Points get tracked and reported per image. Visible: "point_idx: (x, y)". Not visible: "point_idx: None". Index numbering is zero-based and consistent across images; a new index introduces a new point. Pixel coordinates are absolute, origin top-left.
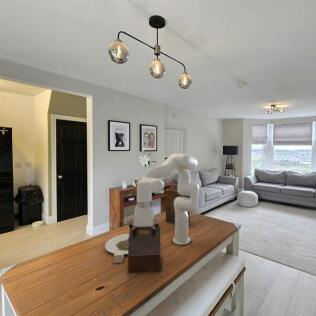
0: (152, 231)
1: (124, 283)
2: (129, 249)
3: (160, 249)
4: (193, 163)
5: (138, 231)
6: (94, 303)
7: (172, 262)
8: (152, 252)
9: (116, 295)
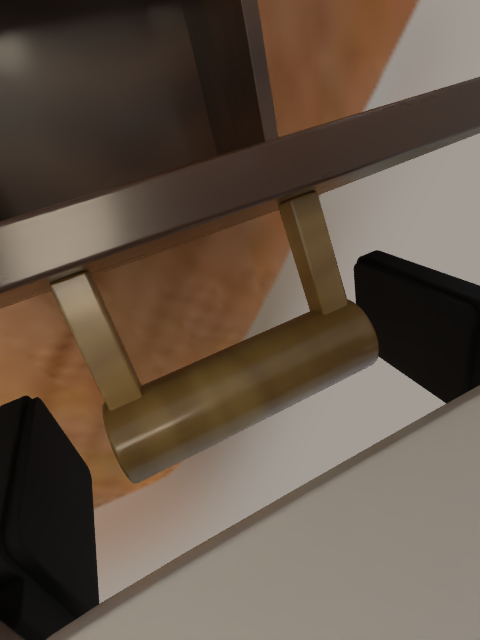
0: (350, 178)
1: (66, 357)
2: None
3: (266, 76)
4: None
5: (138, 480)
6: None
7: (293, 50)
8: (234, 225)
9: (87, 433)
